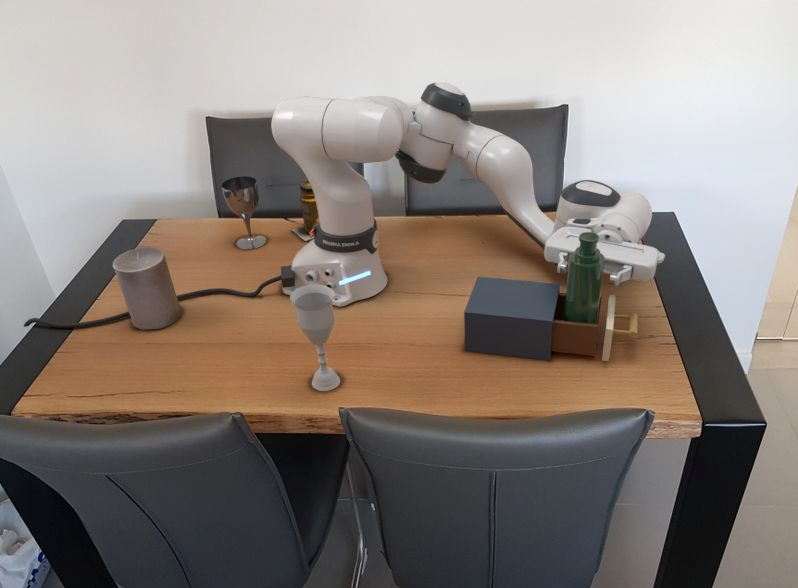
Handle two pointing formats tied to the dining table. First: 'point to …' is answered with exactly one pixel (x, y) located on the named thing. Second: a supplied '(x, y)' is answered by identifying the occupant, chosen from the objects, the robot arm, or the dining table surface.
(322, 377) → the chalice
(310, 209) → the condiment
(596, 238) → the bottle
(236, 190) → the shiny metal goblet
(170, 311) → the pillar candle
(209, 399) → the dining table surface
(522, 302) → the cabinet
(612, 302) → the drawer
